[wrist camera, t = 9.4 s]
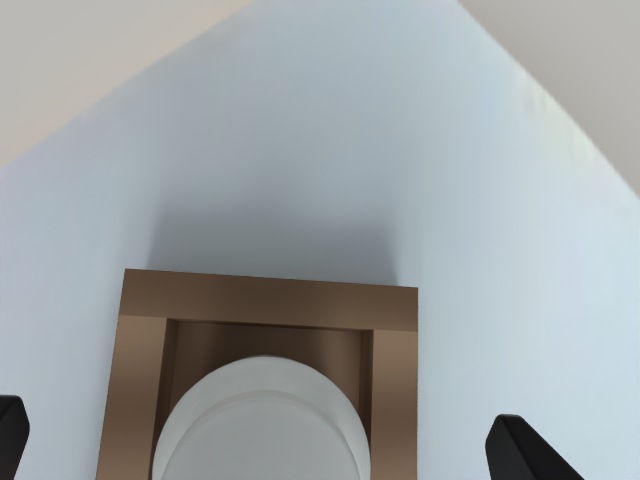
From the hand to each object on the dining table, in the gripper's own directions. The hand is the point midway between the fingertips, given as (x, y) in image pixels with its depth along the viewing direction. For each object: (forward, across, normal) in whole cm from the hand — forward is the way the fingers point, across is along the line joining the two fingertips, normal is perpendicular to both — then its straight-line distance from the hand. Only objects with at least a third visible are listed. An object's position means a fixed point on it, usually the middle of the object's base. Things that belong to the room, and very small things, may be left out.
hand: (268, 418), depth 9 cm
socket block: (+6, 0, +8) cm, 11 cm away
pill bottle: (+6, 0, +8) cm, 10 cm away
